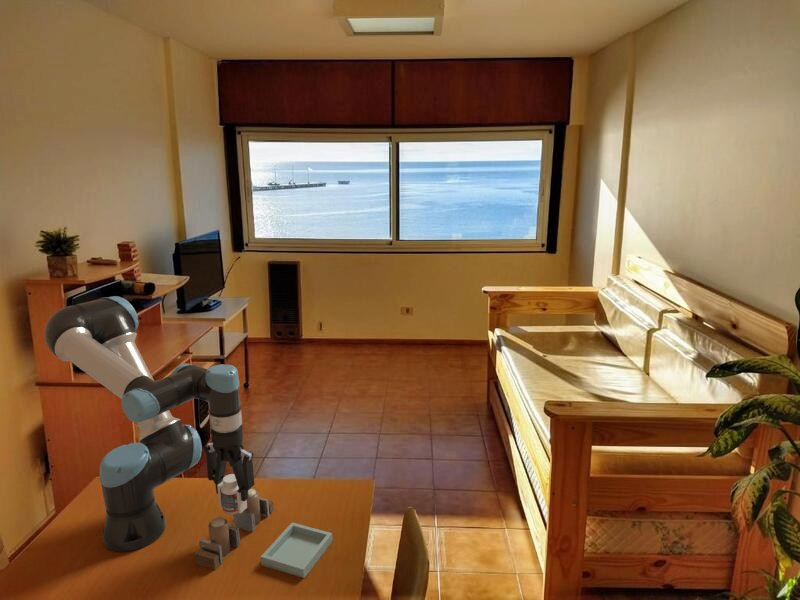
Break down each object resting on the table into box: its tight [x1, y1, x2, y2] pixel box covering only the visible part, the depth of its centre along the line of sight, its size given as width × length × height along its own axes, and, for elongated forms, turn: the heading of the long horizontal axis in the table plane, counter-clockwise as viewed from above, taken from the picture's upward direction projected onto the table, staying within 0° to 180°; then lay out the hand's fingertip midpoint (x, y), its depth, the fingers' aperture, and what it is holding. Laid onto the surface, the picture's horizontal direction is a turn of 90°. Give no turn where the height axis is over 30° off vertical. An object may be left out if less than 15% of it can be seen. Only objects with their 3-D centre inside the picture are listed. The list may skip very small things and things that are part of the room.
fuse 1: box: [208, 516, 231, 558], centre depth 144 cm, size 5×5×9 cm
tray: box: [260, 522, 334, 579], centre depth 144 cm, size 12×14×2 cm
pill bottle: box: [221, 473, 239, 515], centre depth 148 cm, size 5×5×9 cm
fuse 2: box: [244, 488, 262, 526], centre depth 156 cm, size 5×5×9 cm
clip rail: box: [193, 496, 275, 571], centre depth 150 cm, size 6×25×5 cm, turn 158°
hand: (233, 507), depth 149 cm, fingers closed on pill bottle, 5 cm apart
